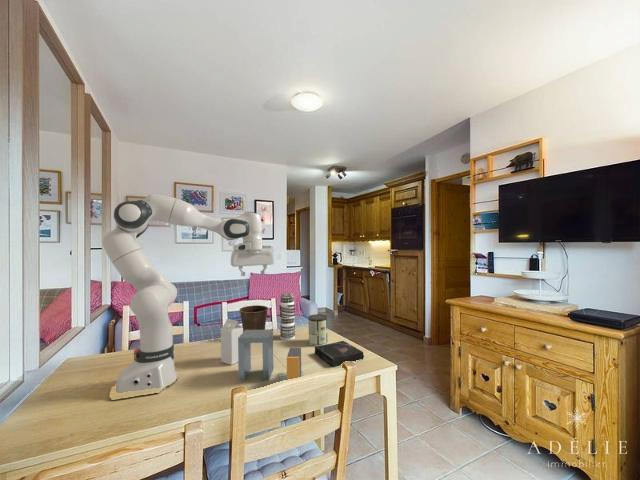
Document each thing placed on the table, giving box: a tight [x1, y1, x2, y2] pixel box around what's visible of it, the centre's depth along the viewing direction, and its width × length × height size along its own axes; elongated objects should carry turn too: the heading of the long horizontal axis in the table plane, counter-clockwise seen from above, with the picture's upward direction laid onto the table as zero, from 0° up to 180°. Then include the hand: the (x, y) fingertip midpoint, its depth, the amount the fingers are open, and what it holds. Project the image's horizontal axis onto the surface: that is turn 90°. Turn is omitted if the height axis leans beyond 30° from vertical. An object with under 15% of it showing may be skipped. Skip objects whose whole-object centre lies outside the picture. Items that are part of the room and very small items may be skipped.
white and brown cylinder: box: [278, 292, 296, 341], centre depth 162 cm, size 9×9×25 cm
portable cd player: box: [314, 340, 365, 368], centre depth 135 cm, size 16×17×4 cm
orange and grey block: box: [286, 347, 302, 380], centre depth 113 cm, size 14×4×11 cm, turn 179°
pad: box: [278, 370, 307, 382], centre depth 113 cm, size 10×10×1 cm
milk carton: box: [220, 318, 243, 366], centre depth 131 cm, size 7×7×19 cm
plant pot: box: [239, 304, 269, 332], centre depth 165 cm, size 16×16×16 cm
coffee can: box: [308, 313, 329, 347], centre depth 153 cm, size 10×10×14 cm
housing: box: [237, 329, 274, 382], centre depth 118 cm, size 10×12×17 cm
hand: (253, 275), depth 135 cm, fingers open, 8 cm apart
